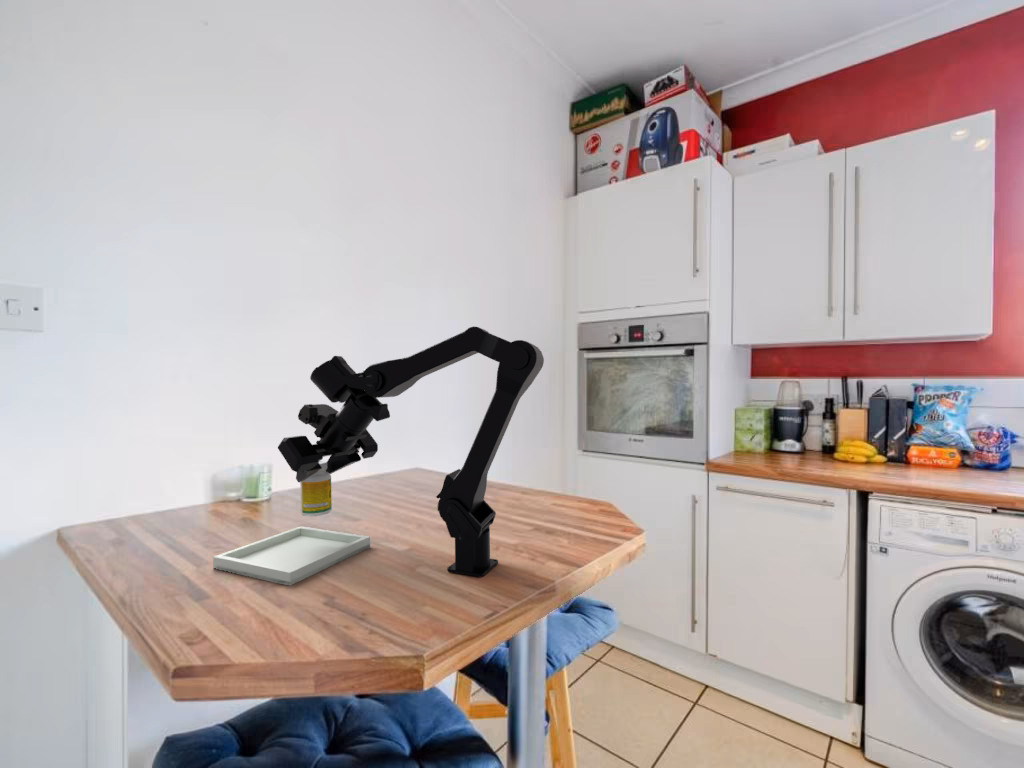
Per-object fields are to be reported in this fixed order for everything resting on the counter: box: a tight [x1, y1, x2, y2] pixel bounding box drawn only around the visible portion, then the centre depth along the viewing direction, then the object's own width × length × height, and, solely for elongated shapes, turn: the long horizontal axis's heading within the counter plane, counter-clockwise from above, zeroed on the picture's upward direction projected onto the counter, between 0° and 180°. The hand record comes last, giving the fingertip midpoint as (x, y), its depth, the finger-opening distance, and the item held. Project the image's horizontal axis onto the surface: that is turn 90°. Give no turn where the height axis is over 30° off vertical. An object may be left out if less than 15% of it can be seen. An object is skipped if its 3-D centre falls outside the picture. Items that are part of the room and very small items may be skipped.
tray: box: [212, 525, 371, 586], centre depth 82 cm, size 18×18×2 cm
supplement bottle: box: [299, 460, 333, 518], centre depth 86 cm, size 5×5×10 cm
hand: (310, 477), depth 86 cm, fingers closed on supplement bottle, 5 cm apart
